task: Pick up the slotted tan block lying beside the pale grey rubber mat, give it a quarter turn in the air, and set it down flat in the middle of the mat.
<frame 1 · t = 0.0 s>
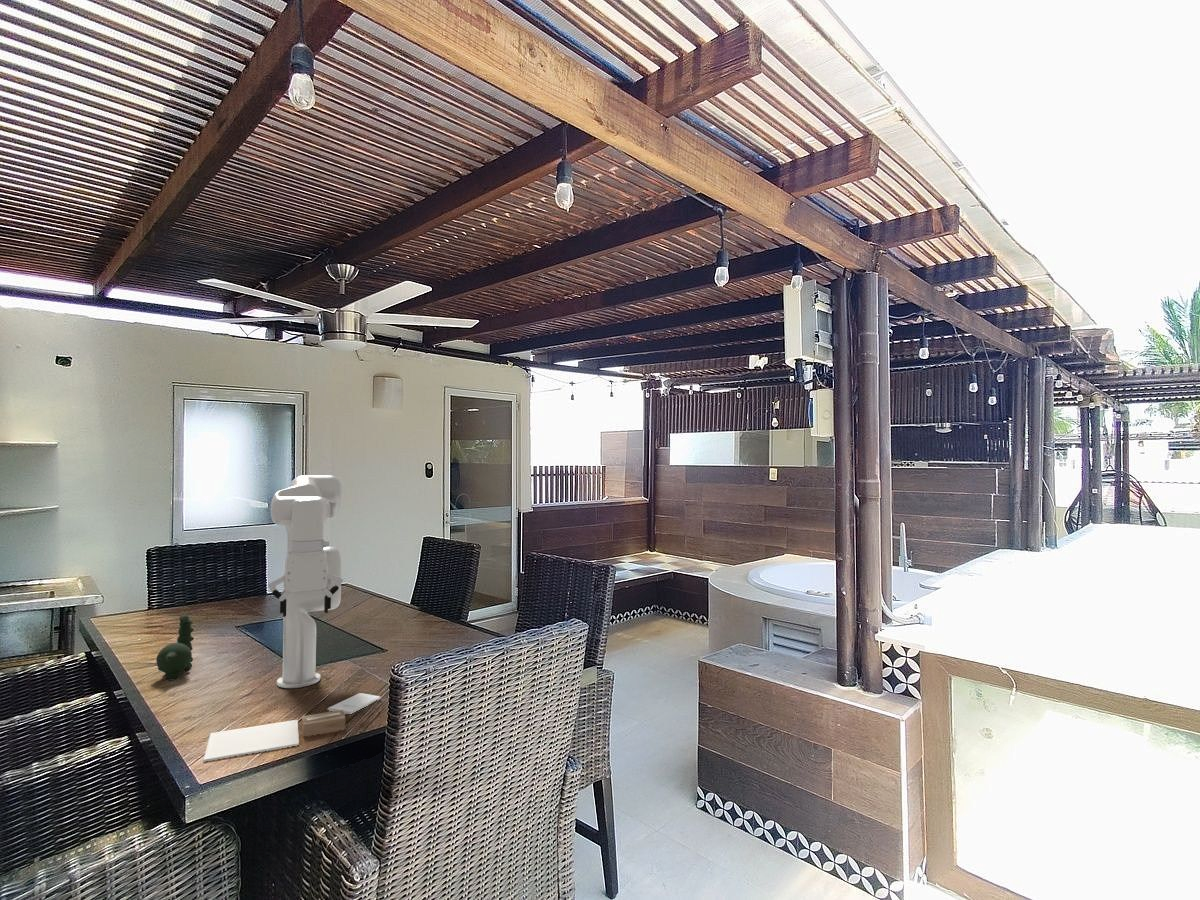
hand: (305, 613, 160), 31 cm above the table, tool pointing down, fingers open, 9 cm apart
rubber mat: (253, 740, 157), on the table
slotted tan block: (323, 730, 164), on the table
external hard drive: (354, 707, 181), on the table
toy figurine: (177, 673, 207), on the table
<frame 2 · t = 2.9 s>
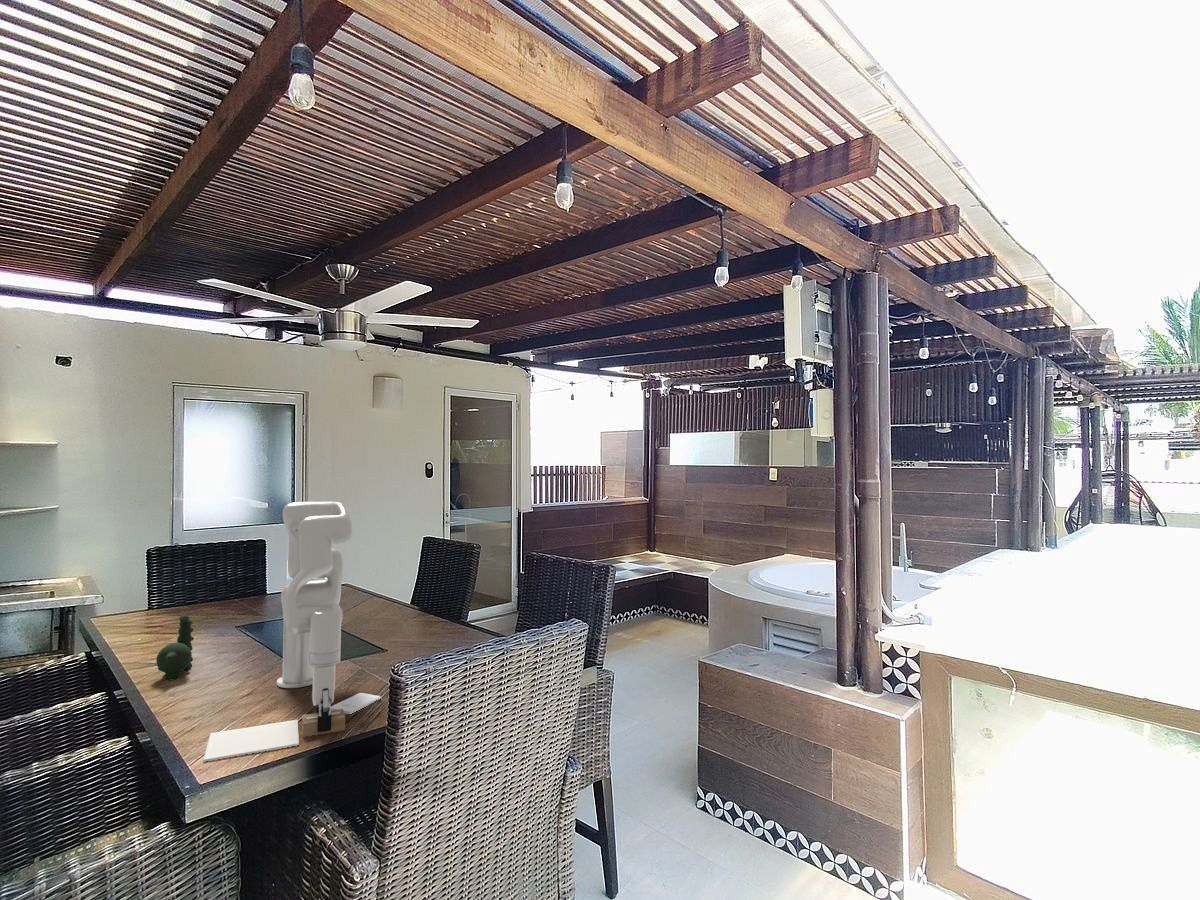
hand: (323, 725, 164), 1 cm above the table, tool pointing down, fingers closed on slotted tan block, 6 cm apart
slotted tan block: (323, 729, 164), on the table, touching gripper
everything else where it was.
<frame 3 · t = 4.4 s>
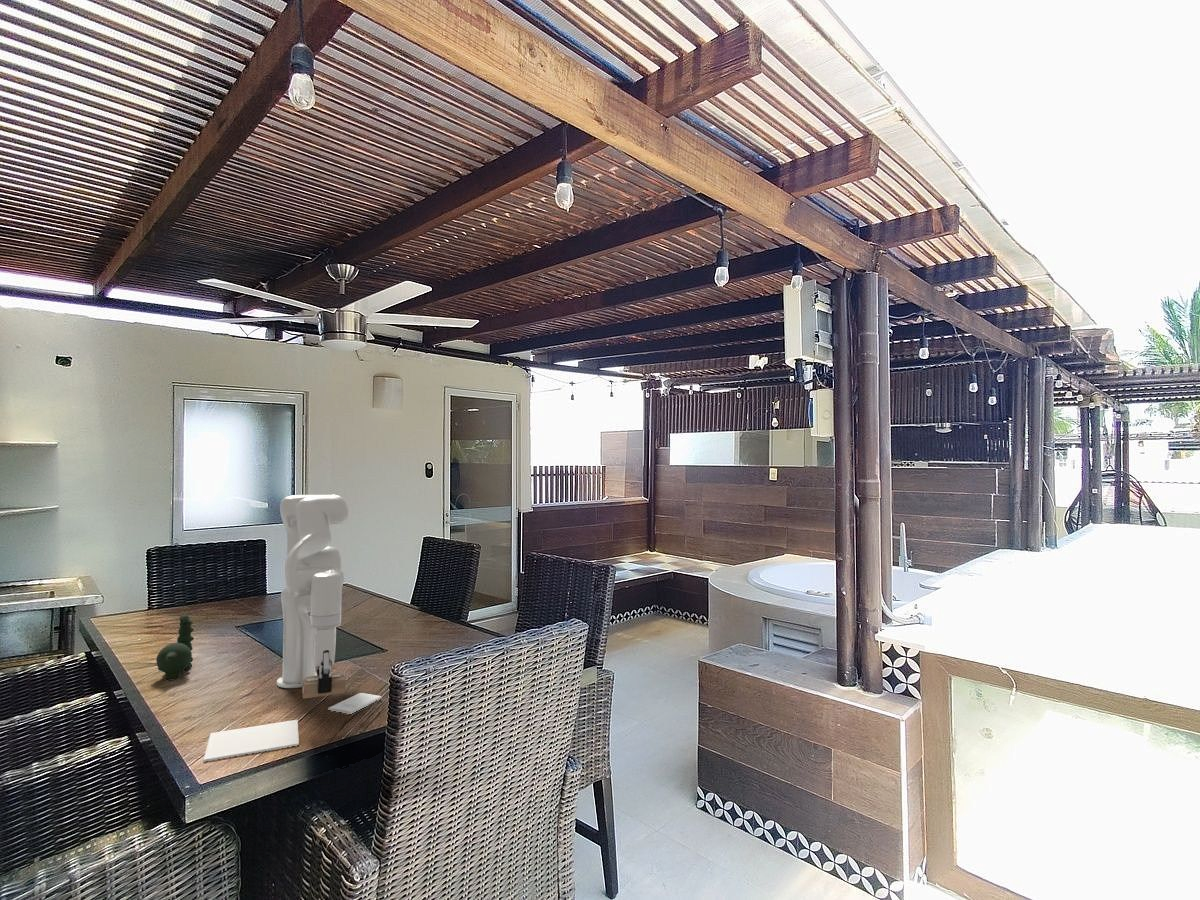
hand: (323, 687, 165), 11 cm above the table, tool pointing down, fingers closed on slotted tan block, 6 cm apart
slotted tan block: (323, 691, 165), point 10 cm above the table, touching gripper
everything else where it was.
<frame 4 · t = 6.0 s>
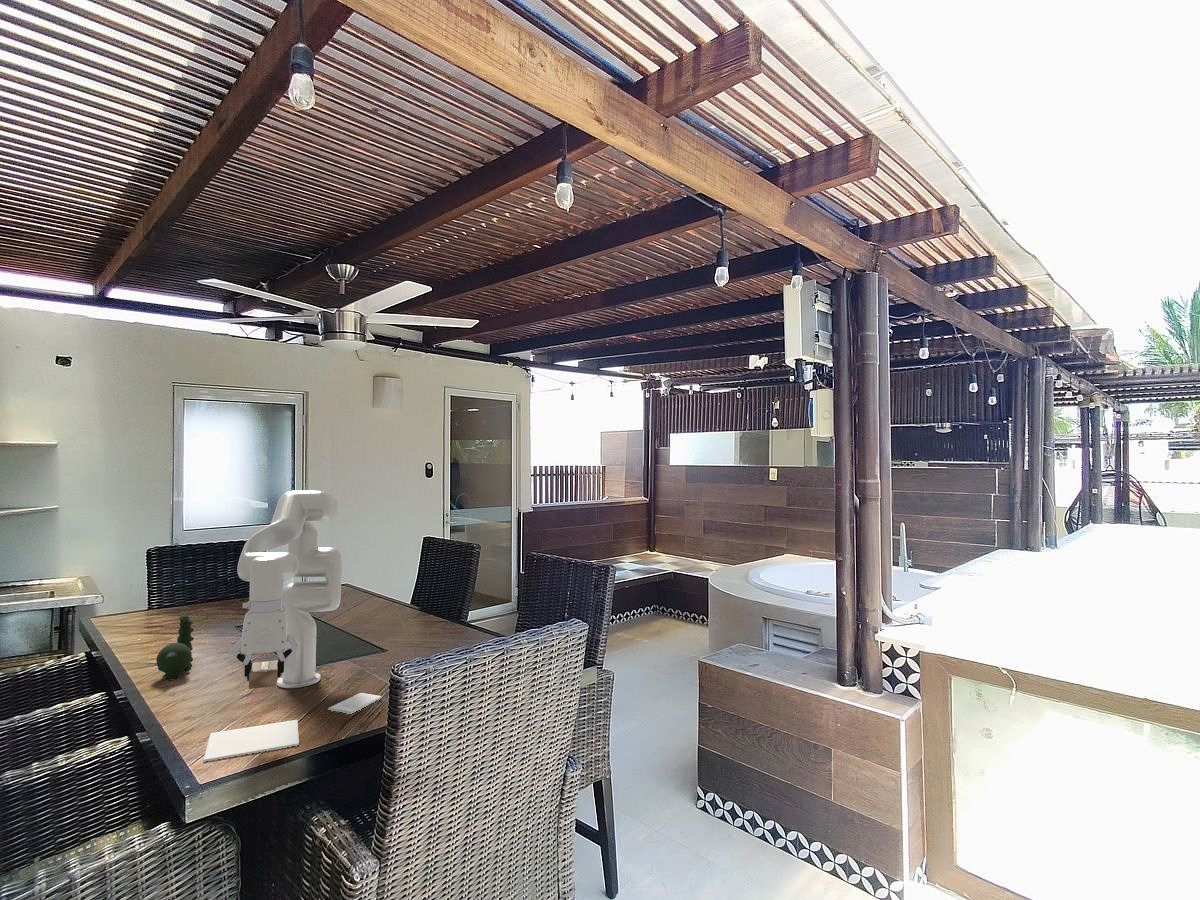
hand: (264, 676, 158), 16 cm above the table, tool pointing down, fingers closed on slotted tan block, 6 cm apart
slotted tan block: (264, 681, 158), point 15 cm above the table, touching gripper
everything else where it was.
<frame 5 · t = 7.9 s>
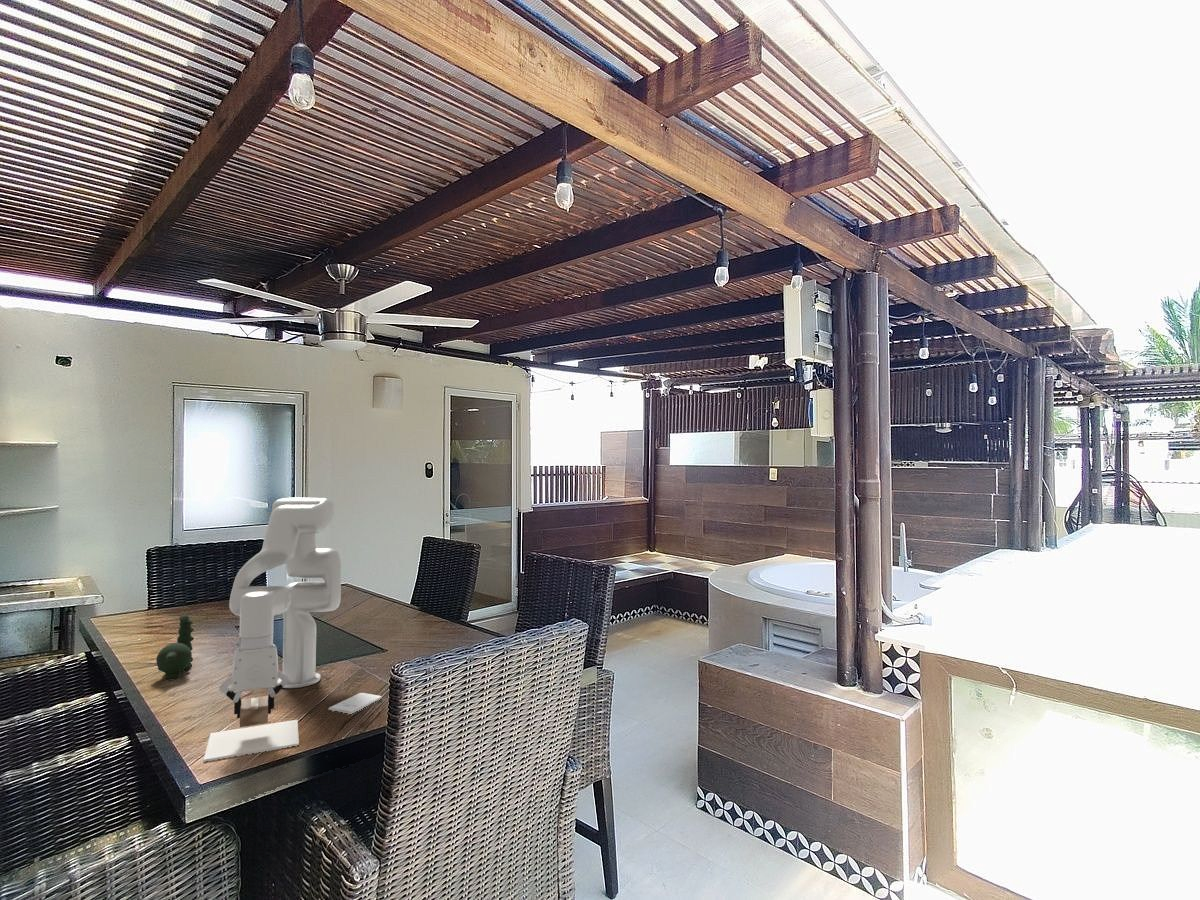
hand: (254, 713, 157), 7 cm above the table, tool pointing down, fingers closed on slotted tan block, 6 cm apart
slotted tan block: (254, 717, 157), point 6 cm above the table, touching gripper
everything else where it was.
when the fingers open (3 cm above the table, at t = 9.1 s): slotted tan block drops 1 cm, resting on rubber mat.
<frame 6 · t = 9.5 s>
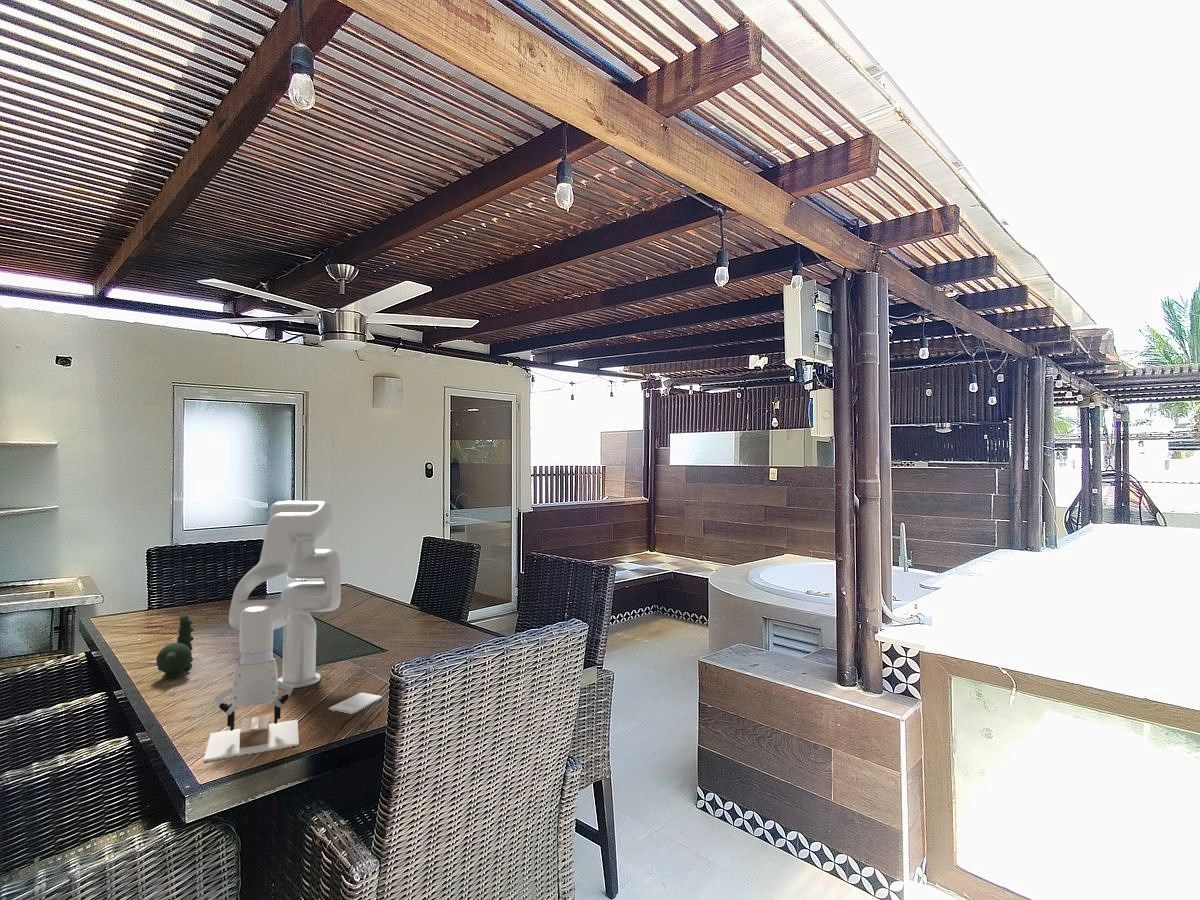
hand: (254, 725, 157), 4 cm above the table, tool pointing down, fingers open, 9 cm apart
slotted tan block: (254, 737, 157), point 1 cm above the table, touching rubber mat
everything else where it was.
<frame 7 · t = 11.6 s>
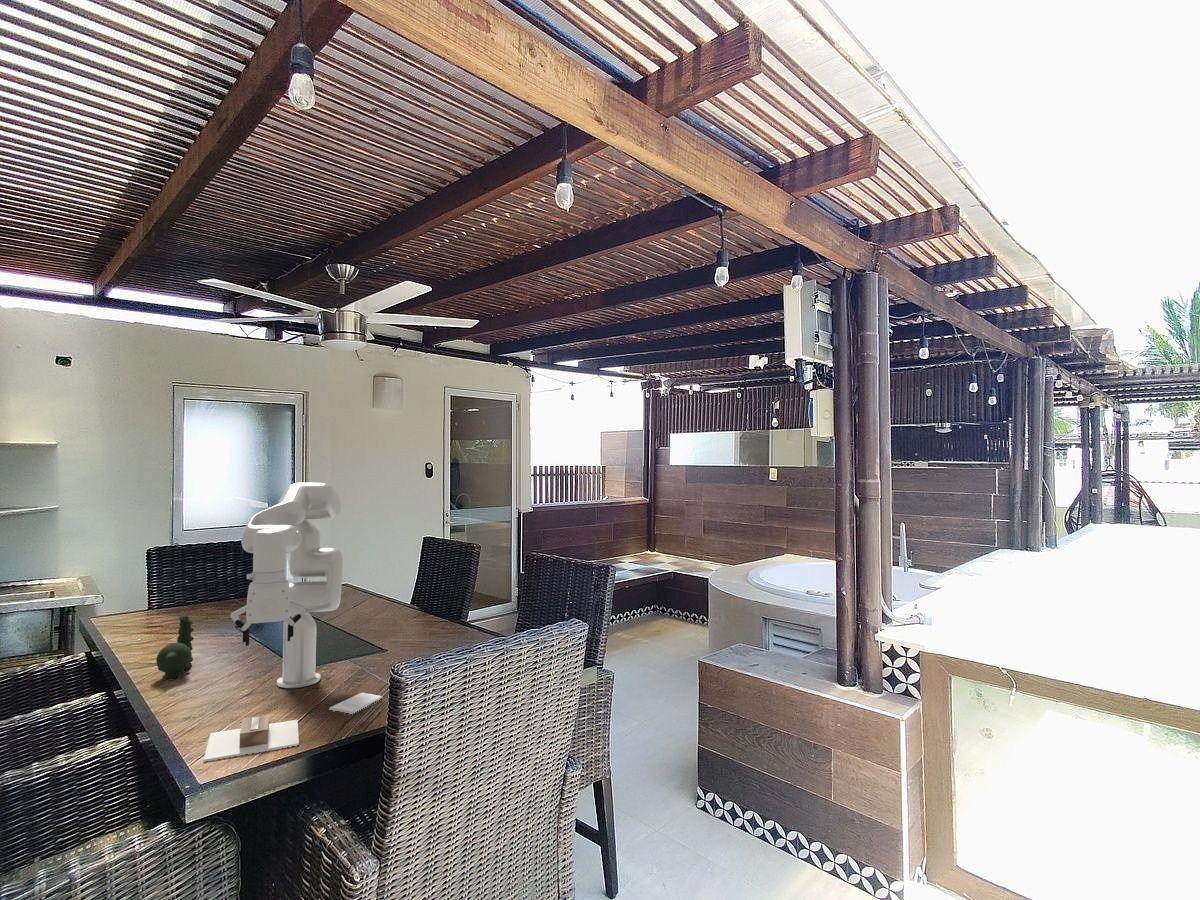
hand: (268, 642, 164), 23 cm above the table, tool pointing down, fingers open, 9 cm apart
nothing on the table moved.
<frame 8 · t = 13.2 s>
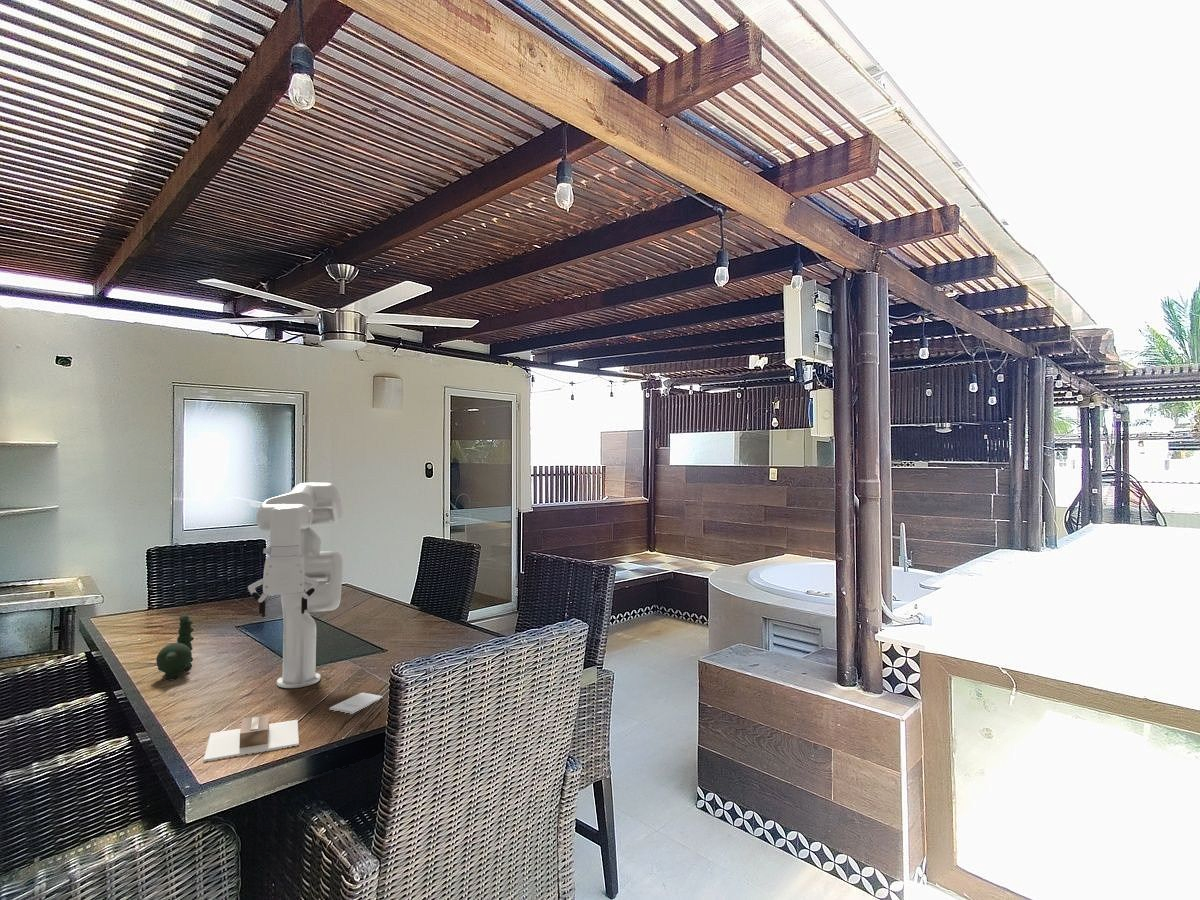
hand: (283, 614, 171), 28 cm above the table, tool pointing down, fingers open, 9 cm apart
nothing on the table moved.
at the end: slotted tan block inside the target area on the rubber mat (0.2 cm from its centre), point 0.6 cm above the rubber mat's base; slotted tan block tilted 0°; the gripper is holding nothing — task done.
